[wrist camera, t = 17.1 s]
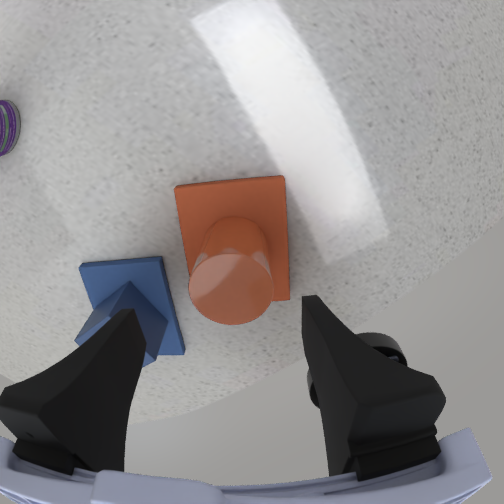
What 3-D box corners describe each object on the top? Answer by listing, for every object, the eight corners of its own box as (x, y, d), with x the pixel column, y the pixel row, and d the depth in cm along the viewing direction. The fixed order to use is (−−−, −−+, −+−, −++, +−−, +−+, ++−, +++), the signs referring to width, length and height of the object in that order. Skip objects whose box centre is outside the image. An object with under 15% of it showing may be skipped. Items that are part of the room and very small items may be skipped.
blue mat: (185, 349, 26) (184, 355, 25) (114, 348, 26) (112, 354, 25) (161, 256, 22) (158, 261, 21) (82, 262, 22) (78, 267, 22)
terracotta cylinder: (269, 273, 22) (275, 322, 17) (207, 278, 22) (196, 327, 17) (265, 213, 20) (271, 249, 15) (197, 219, 20) (181, 256, 15)
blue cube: (169, 321, 24) (156, 360, 20) (133, 342, 25) (117, 380, 21) (129, 280, 22) (108, 315, 18) (96, 306, 23) (73, 340, 19)
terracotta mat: (288, 294, 24) (290, 300, 23) (197, 300, 24) (195, 306, 23) (283, 175, 20) (284, 177, 19) (176, 185, 20) (173, 188, 19)
